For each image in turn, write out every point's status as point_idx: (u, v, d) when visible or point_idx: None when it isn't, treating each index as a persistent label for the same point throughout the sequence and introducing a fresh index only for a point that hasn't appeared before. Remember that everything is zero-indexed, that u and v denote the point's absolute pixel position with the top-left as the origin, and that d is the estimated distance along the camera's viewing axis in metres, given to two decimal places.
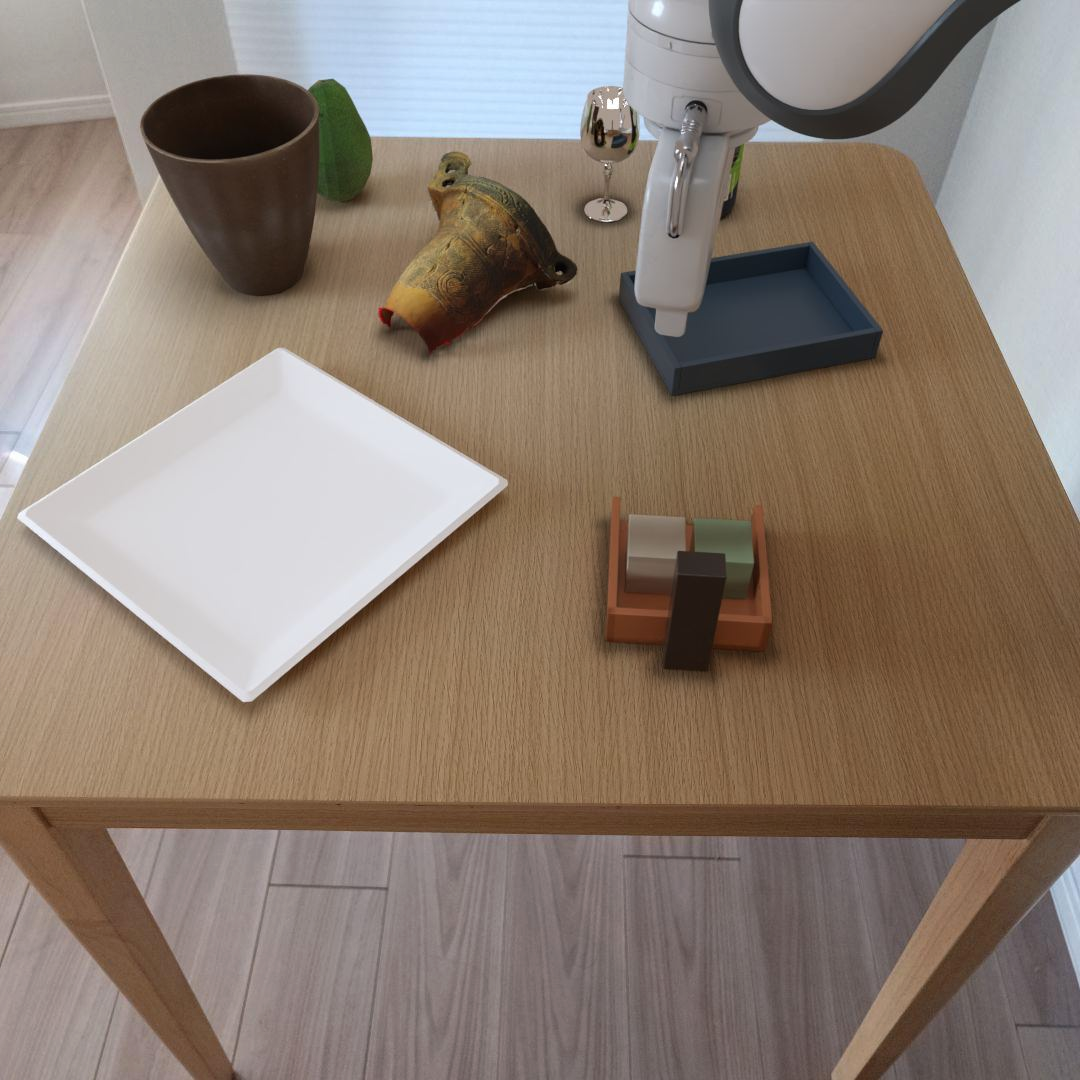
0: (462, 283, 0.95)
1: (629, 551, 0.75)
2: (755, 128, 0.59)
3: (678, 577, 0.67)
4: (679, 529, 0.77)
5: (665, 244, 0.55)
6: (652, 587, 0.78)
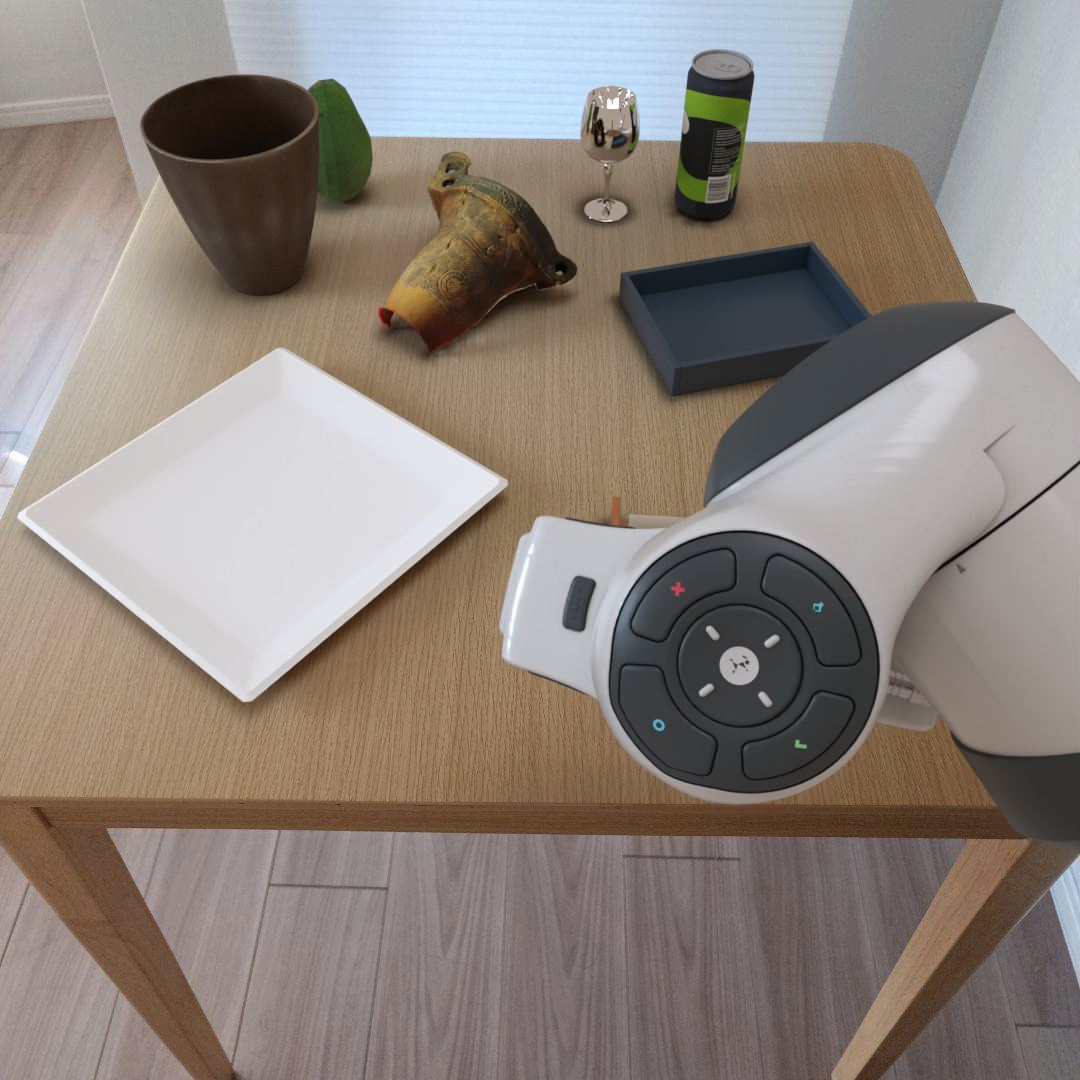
0: (462, 283, 0.95)
1: None
2: None
3: None
4: None
5: None
6: None
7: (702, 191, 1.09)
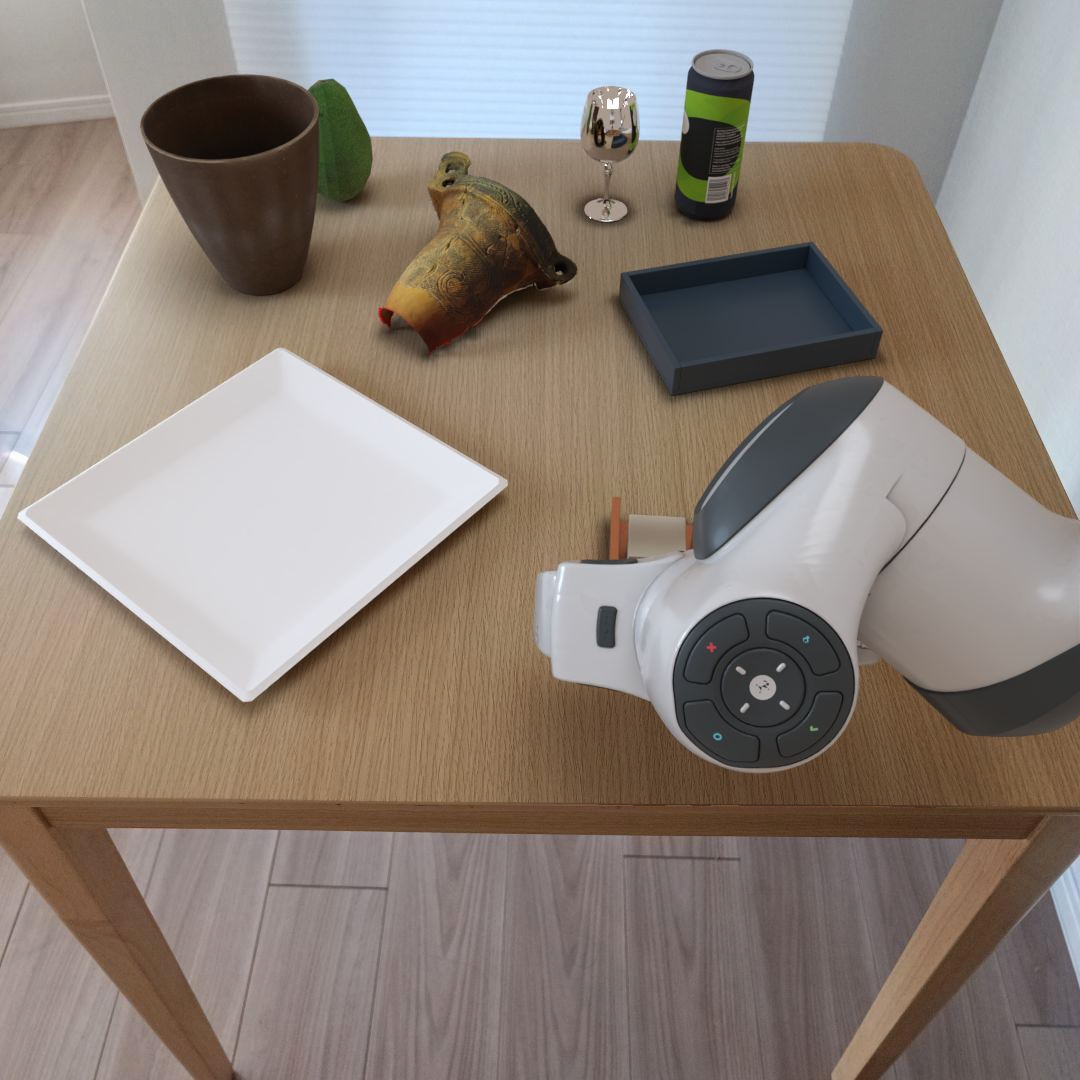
0: (462, 283, 0.95)
1: (629, 551, 0.75)
2: None
3: None
4: (679, 529, 0.77)
5: None
6: None
7: (702, 191, 1.09)
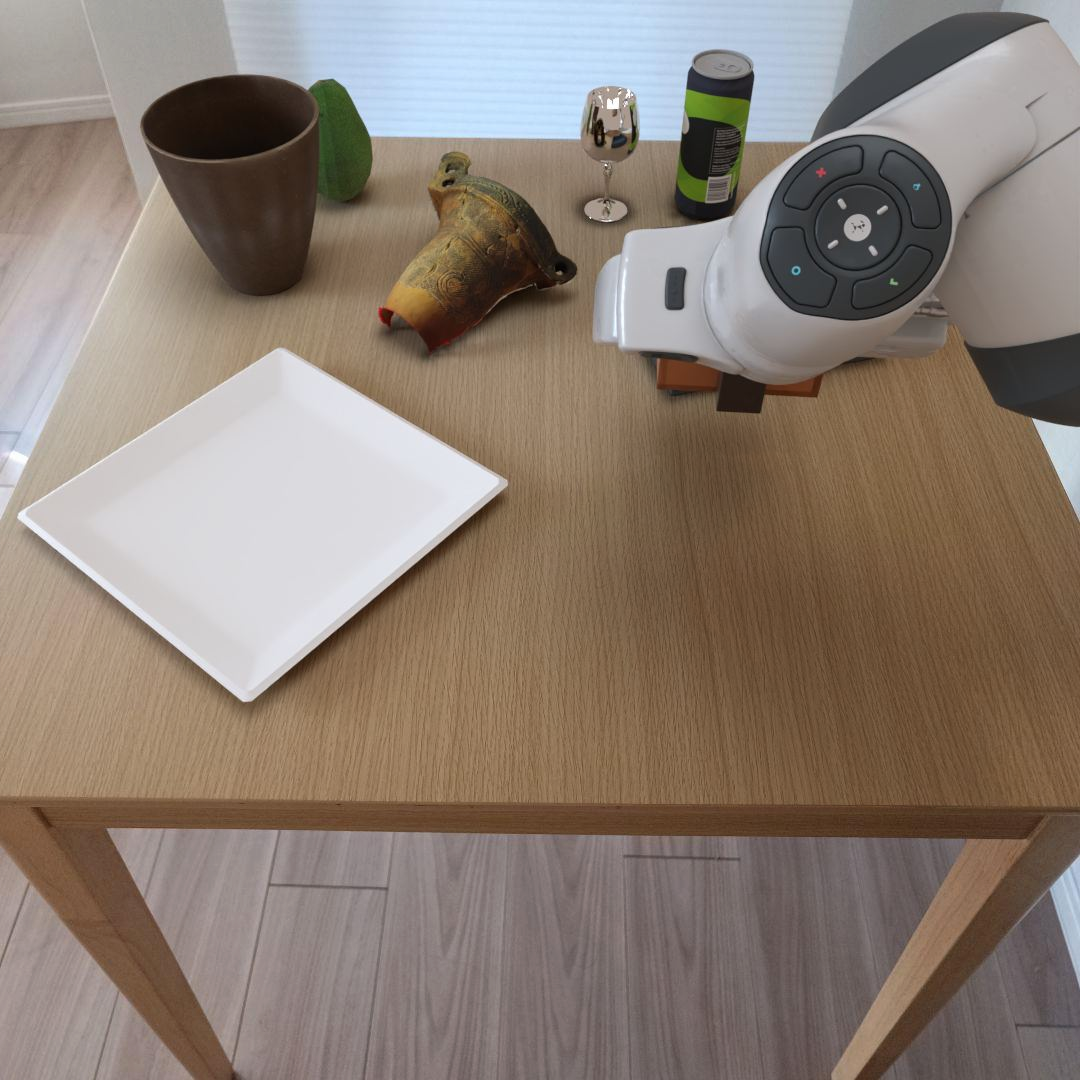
0: (462, 283, 0.95)
1: None
2: None
3: None
4: None
5: None
6: None
7: (702, 191, 1.09)
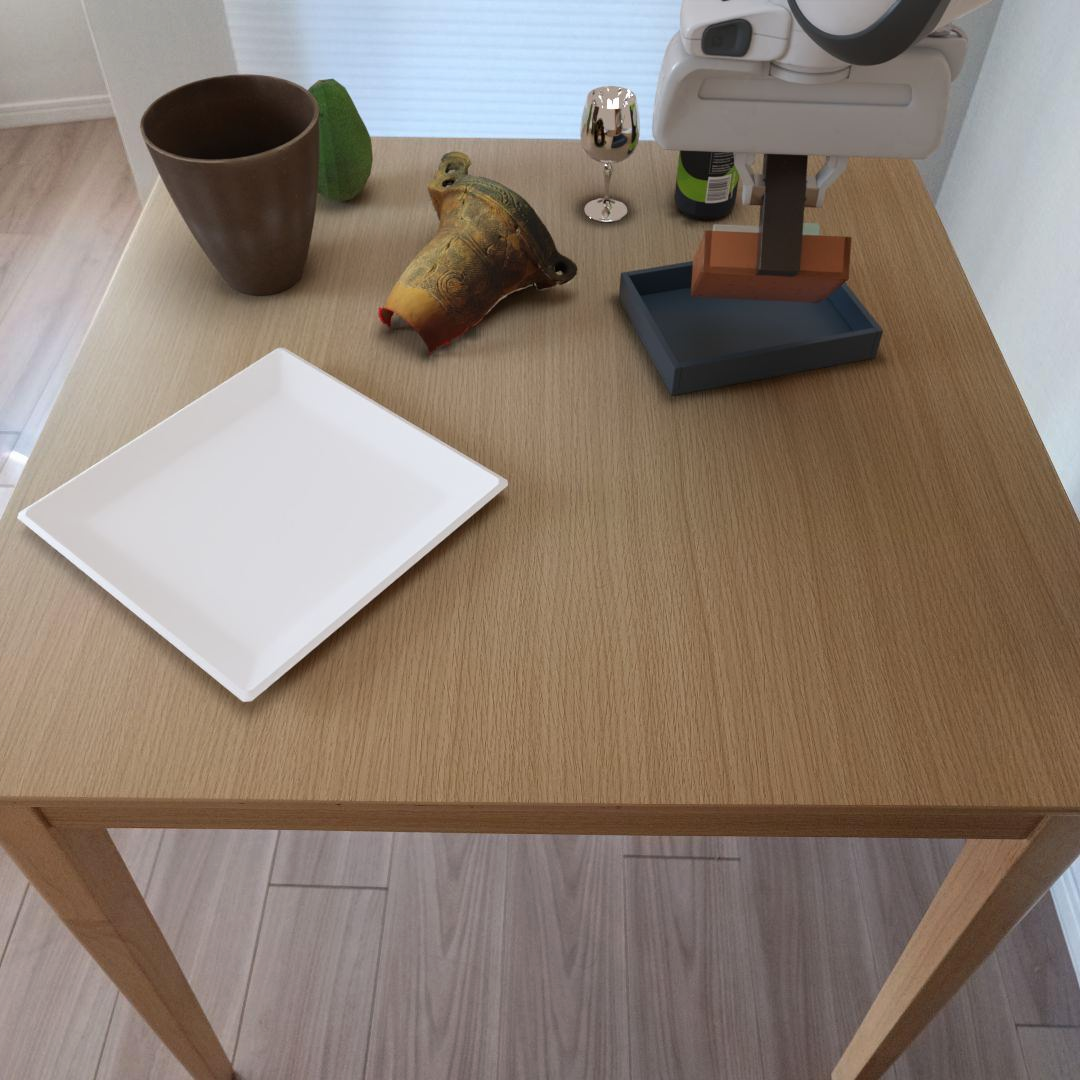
0: (462, 283, 0.95)
1: (714, 225, 0.90)
2: None
3: None
4: None
5: None
6: None
7: (702, 191, 1.09)
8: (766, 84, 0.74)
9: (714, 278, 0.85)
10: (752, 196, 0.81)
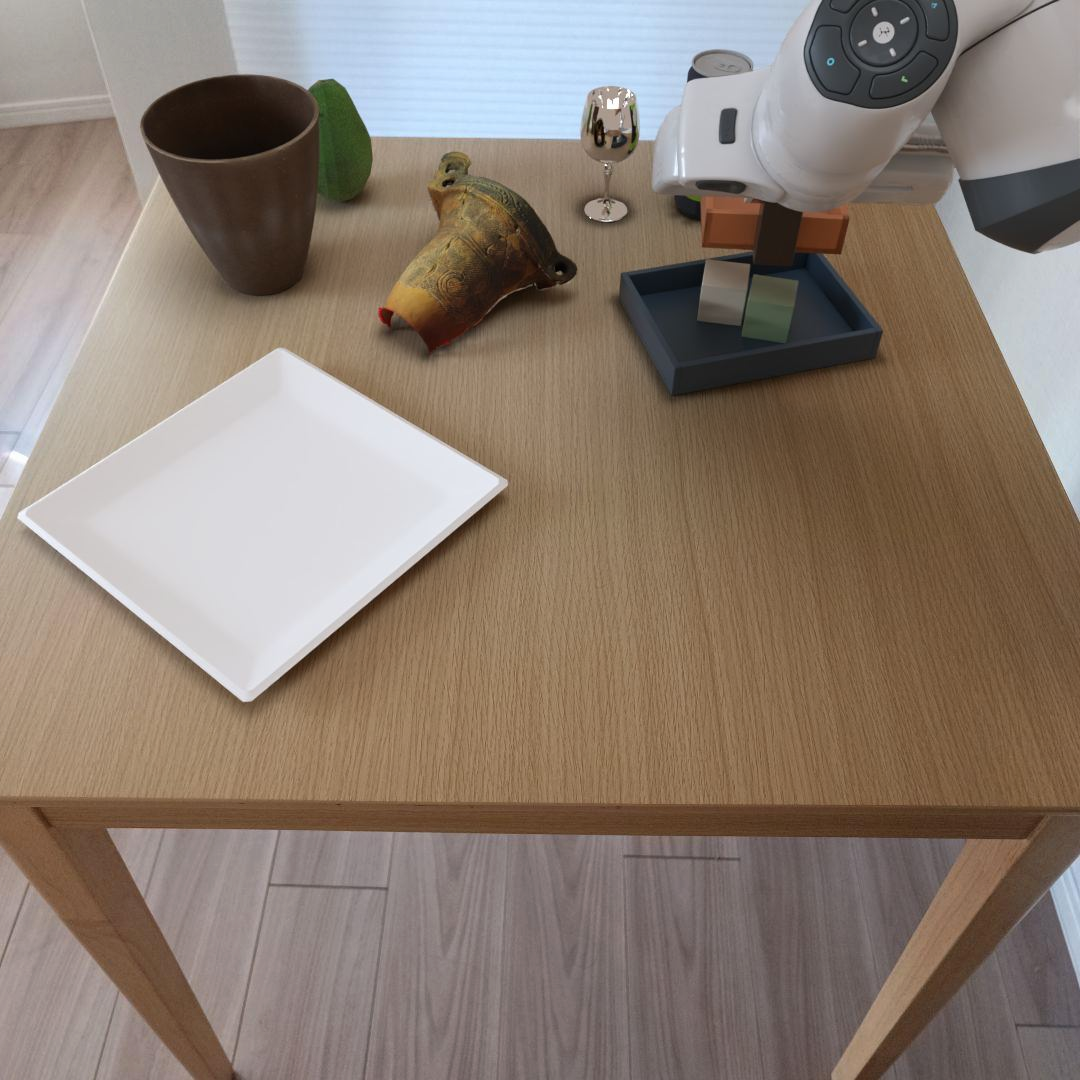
0: (462, 283, 0.95)
1: None
2: None
3: None
4: None
5: None
6: None
7: None
8: None
9: None
10: (752, 201, 0.82)
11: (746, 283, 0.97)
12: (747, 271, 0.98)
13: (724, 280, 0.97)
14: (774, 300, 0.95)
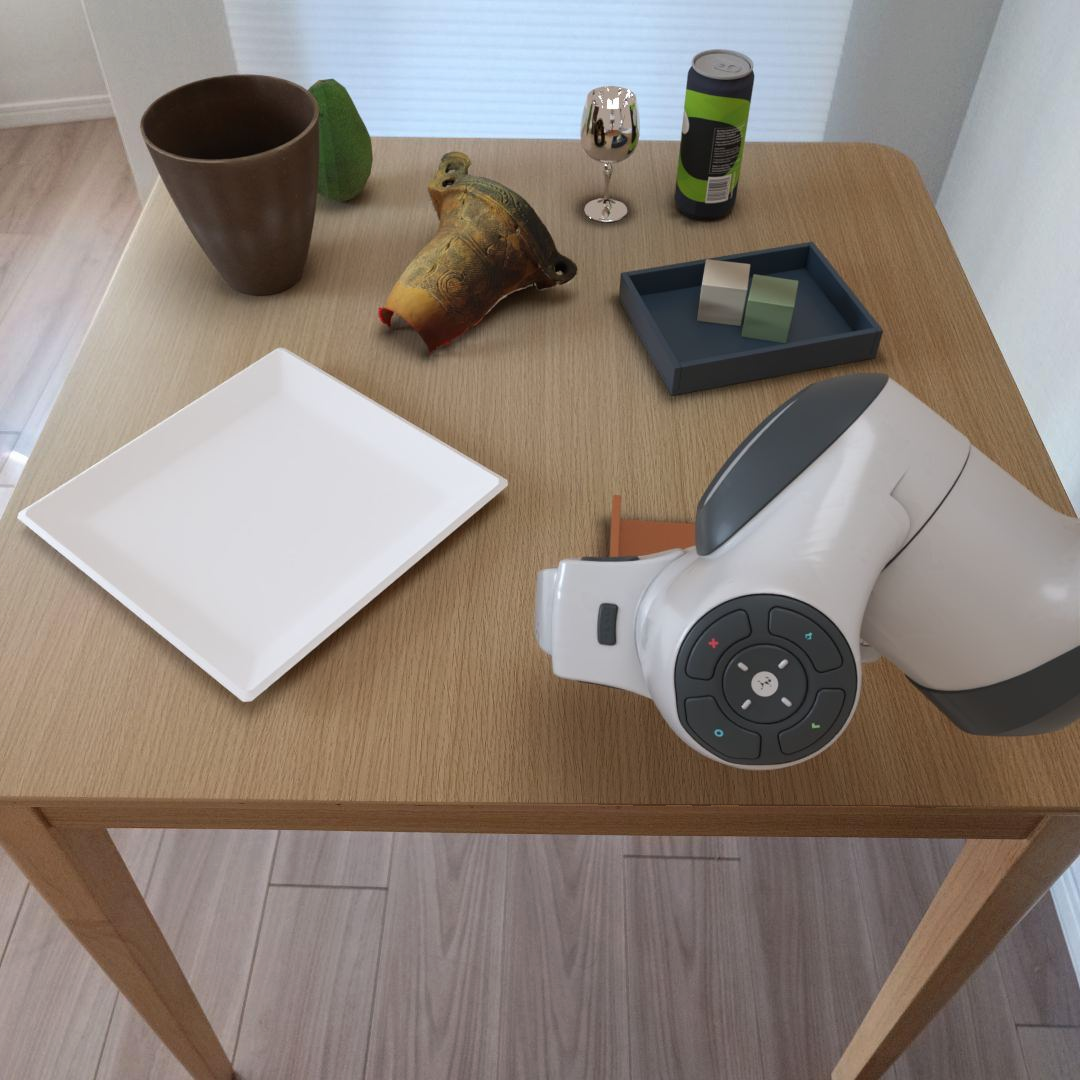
0: (462, 283, 0.95)
1: None
2: None
3: None
4: None
5: None
6: None
7: (702, 191, 1.09)
8: None
9: None
10: None
11: (746, 283, 0.97)
12: (747, 271, 0.98)
13: (724, 280, 0.97)
14: (774, 300, 0.95)
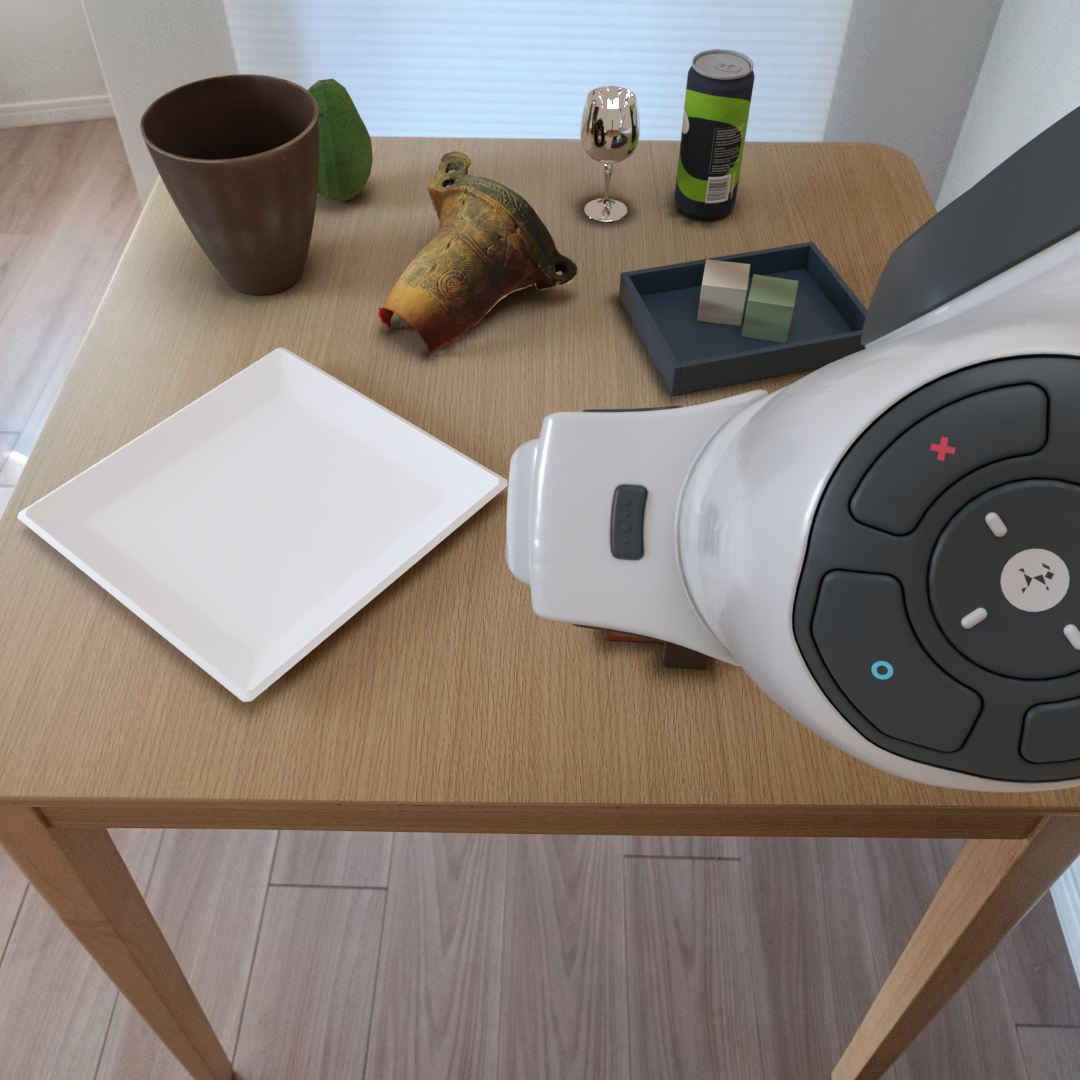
0: (462, 283, 0.95)
1: None
2: None
3: None
4: None
5: None
6: None
7: (702, 191, 1.09)
8: None
9: None
10: None
11: (746, 283, 0.97)
12: (747, 271, 0.98)
13: (724, 280, 0.97)
14: (774, 300, 0.95)
